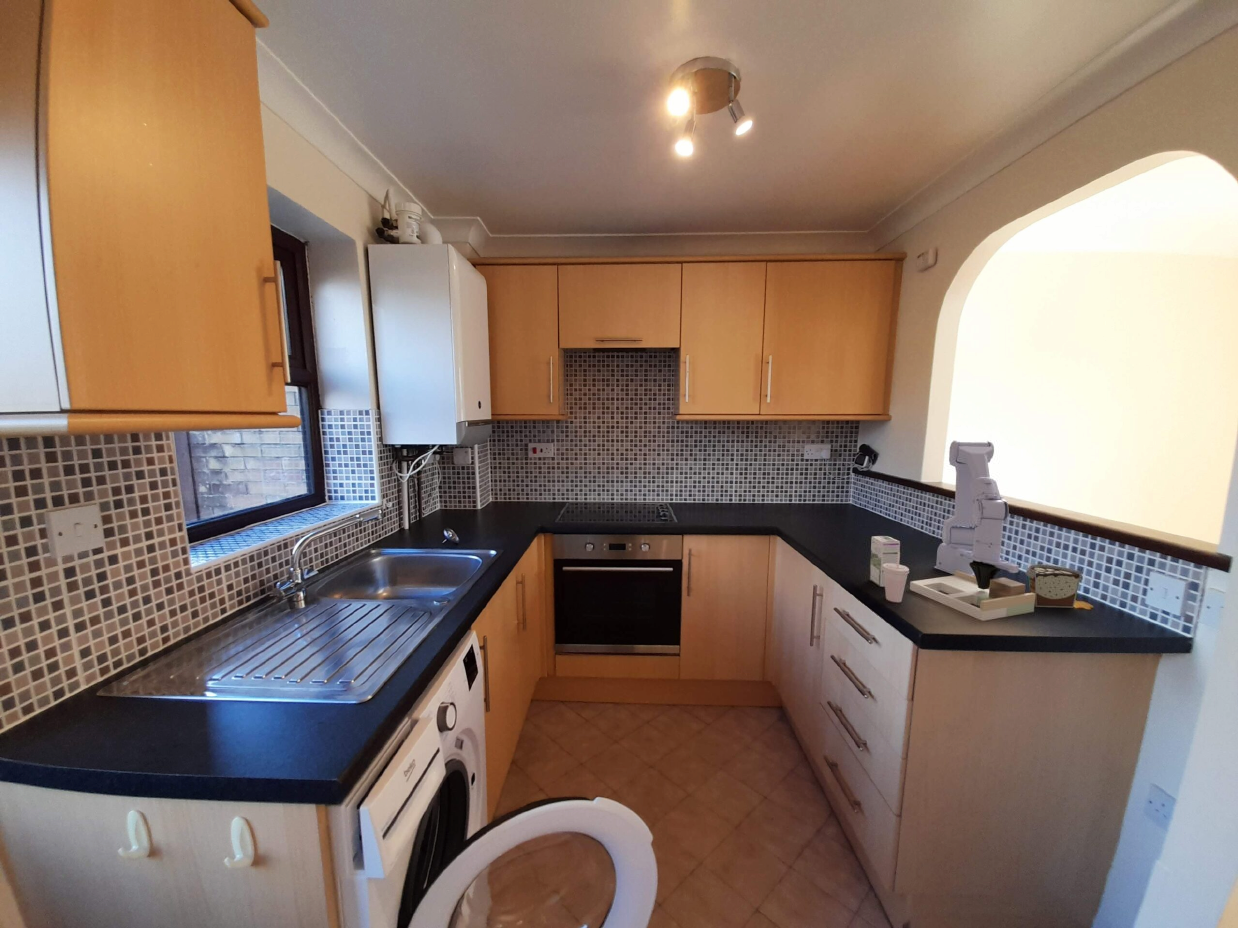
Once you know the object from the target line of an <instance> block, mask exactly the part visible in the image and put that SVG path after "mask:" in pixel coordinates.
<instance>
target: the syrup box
mask: <svg viewBox="0 0 1238 928" xmlns="http://www.w3.org/2000/svg"><path fill="white" fill-rule="evenodd" d="M870 541H871V543H870V544H871V546H870V563H869V565H870V566H869V568H870V569H869V571H870V572H869V580H870V581H871V582H873V583H874V584H876V585H877V586H879V587H883V588H885V581H884V570H883V569H882V567H883V564H886V563H894V564H897V554H898V552H900V550H901V549H900V547H901V541H900V540H897V539H895V538H893V537H891V536H888V535H876V536H871V540H870ZM900 553H901V552H900Z"/></svg>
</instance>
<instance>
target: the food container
mask: <svg viewBox="0 0 1238 928" xmlns="http://www.w3.org/2000/svg"><path fill="white" fill-rule="evenodd" d="M1025 575H1026V576H1028V590H1029V591H1028V593H1035V604H1034V608H1037V607H1038V608H1039V607H1040V608H1042V607H1043V608H1068V609H1069V608H1071V609H1072V608H1074V607H1075V603H1076V600H1077V599H1076V598H1077V594H1078V590H1079V585H1080V581H1083V580H1084V578H1083V574H1082V571H1079V570H1076V569H1072V568H1069V567H1063V566H1058V565H1050V564H1041V563H1040V564H1030V565H1029V566H1028V567H1027V569H1026V570H1025Z"/></svg>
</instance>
